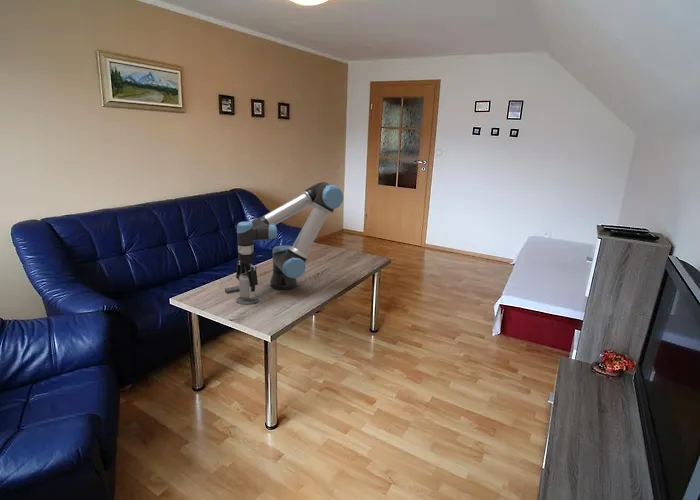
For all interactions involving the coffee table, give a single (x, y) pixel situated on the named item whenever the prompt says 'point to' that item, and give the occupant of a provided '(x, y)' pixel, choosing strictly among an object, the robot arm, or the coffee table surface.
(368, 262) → the coffee table surface
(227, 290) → the remote
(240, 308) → the coffee table surface
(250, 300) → the coaster
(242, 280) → the can
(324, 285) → the coffee table surface
